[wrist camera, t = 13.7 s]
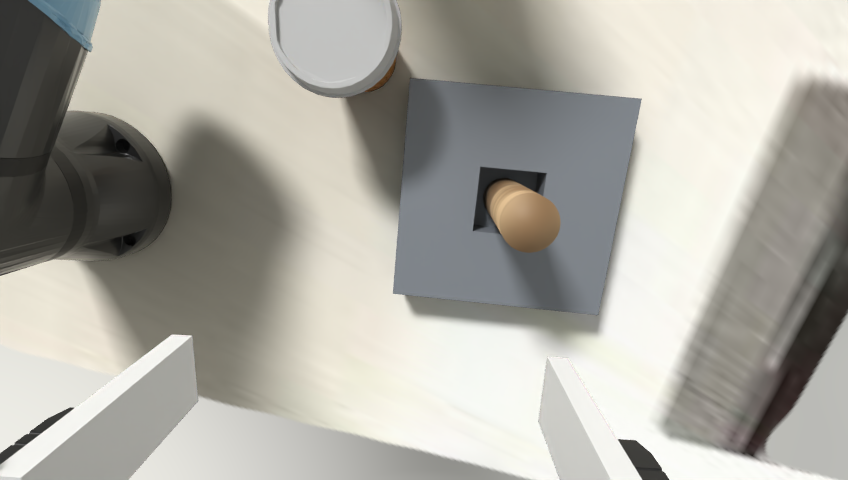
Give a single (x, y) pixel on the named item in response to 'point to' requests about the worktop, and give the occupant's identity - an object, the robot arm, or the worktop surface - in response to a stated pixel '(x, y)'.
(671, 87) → the worktop surface
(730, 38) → the worktop surface
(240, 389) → the worktop surface
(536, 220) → the oak peg
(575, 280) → the socket block
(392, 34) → the disposable coffee cup
